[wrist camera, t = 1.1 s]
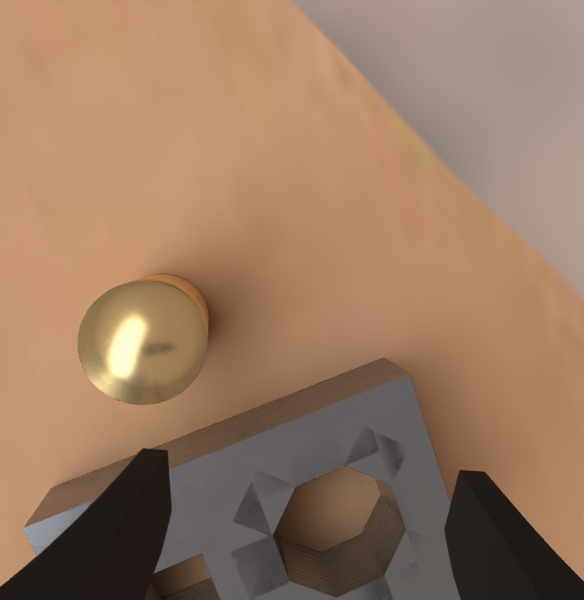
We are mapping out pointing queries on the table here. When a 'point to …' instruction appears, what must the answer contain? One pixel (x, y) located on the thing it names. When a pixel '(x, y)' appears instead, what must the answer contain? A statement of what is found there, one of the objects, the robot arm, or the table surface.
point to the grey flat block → (279, 487)
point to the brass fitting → (145, 339)
